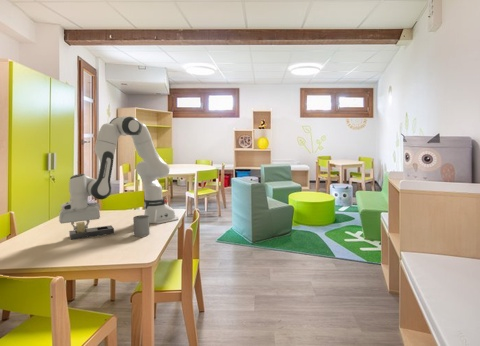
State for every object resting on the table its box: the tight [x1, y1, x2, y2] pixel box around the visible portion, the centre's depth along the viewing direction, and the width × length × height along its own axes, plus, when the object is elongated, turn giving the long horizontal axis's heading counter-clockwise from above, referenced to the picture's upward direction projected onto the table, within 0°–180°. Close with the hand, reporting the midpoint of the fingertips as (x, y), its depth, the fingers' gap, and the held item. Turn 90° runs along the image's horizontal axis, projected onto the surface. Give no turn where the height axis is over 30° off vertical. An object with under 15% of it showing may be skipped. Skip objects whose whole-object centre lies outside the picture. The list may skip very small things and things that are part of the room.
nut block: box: [75, 221, 86, 233], centre depth 186 cm, size 4×4×6 cm
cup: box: [132, 214, 151, 238], centre depth 189 cm, size 8×8×10 cm
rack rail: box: [68, 224, 115, 241], centre depth 189 cm, size 22×8×3 cm, turn 120°
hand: (80, 229), depth 186 cm, fingers closed on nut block, 4 cm apart
